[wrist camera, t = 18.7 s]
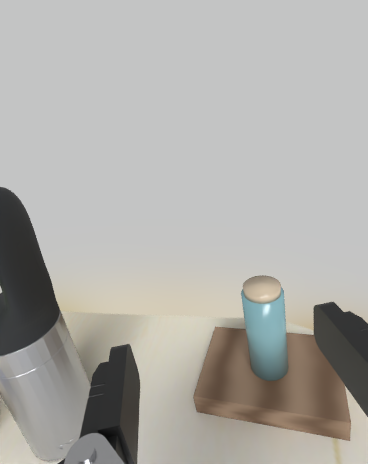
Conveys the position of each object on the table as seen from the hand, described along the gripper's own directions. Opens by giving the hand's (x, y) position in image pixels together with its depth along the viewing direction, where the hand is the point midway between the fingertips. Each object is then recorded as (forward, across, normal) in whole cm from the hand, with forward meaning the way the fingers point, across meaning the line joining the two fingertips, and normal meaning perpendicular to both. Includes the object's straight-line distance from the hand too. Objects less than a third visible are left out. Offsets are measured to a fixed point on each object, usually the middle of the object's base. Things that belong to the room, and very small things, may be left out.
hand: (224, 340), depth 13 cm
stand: (+20, -8, +28) cm, 35 cm away
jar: (+20, -8, +25) cm, 33 cm away
